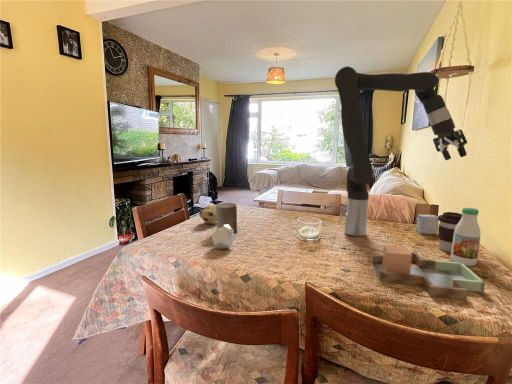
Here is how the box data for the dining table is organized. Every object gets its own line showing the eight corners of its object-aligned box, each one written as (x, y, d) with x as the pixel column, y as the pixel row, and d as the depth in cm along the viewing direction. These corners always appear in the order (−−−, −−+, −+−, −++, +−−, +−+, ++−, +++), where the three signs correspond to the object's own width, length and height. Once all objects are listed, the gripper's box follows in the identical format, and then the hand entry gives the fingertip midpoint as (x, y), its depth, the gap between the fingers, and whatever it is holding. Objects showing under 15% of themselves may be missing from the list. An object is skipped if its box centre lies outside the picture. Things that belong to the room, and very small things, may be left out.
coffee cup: (459, 246, 118) (463, 212, 115) (467, 255, 108) (473, 218, 106) (431, 243, 121) (436, 210, 118) (438, 252, 112) (442, 215, 109)
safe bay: (452, 290, 83) (453, 279, 82) (434, 269, 96) (435, 260, 96) (483, 293, 81) (485, 282, 81) (460, 272, 95) (461, 262, 94)
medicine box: (432, 231, 137) (434, 214, 136) (437, 234, 133) (439, 217, 131) (415, 231, 138) (417, 214, 136) (419, 234, 133) (421, 216, 132)
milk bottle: (445, 258, 106) (452, 206, 103) (464, 257, 107) (471, 206, 103) (461, 266, 99) (469, 211, 95) (482, 266, 99) (490, 211, 96)
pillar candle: (240, 231, 138) (240, 201, 135) (230, 237, 129) (230, 205, 126) (223, 228, 142) (222, 199, 139) (213, 234, 133) (211, 203, 130)
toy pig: (196, 225, 146) (195, 206, 144) (208, 220, 157) (207, 201, 155) (212, 228, 142) (212, 207, 140) (223, 221, 153) (223, 202, 152)
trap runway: (383, 292, 82) (384, 281, 81) (369, 257, 107) (369, 248, 106) (495, 305, 75) (497, 293, 75) (452, 264, 100) (453, 255, 100)
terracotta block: (385, 276, 91) (387, 252, 89) (381, 268, 96) (383, 246, 95) (409, 278, 89) (412, 254, 88) (404, 270, 95) (406, 247, 93)
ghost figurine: (235, 251, 112) (235, 227, 110) (211, 252, 111) (211, 228, 109) (235, 243, 121) (235, 221, 119) (213, 244, 120) (212, 221, 118)
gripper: (421, 128, 121) (435, 163, 121) (444, 119, 107) (460, 158, 107) (437, 122, 121) (451, 157, 121) (462, 112, 107) (478, 151, 107)
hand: (455, 158), depth 114 cm, fingers open, 8 cm apart
